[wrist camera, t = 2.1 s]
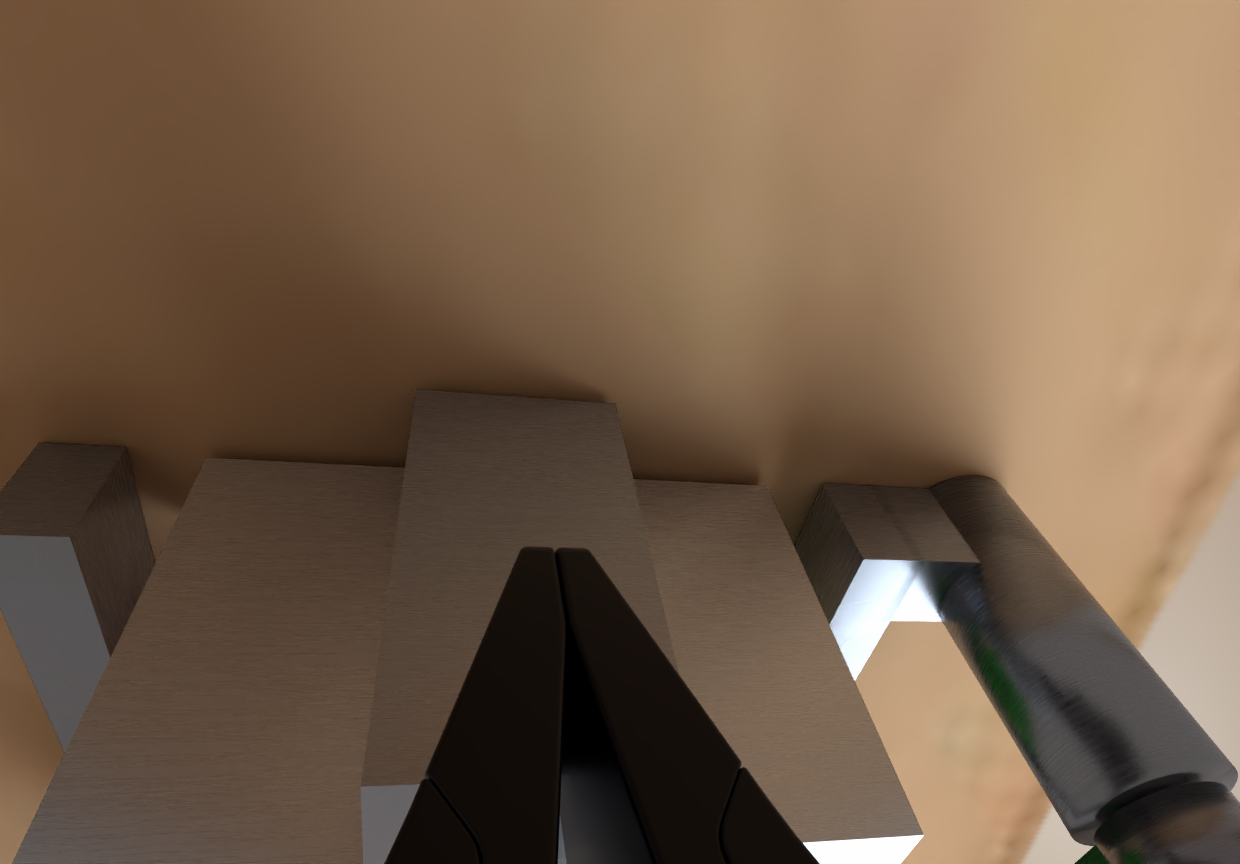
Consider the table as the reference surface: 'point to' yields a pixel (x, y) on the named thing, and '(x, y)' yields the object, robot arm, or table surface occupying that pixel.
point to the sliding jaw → (439, 644)
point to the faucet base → (832, 558)
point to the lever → (1172, 828)
